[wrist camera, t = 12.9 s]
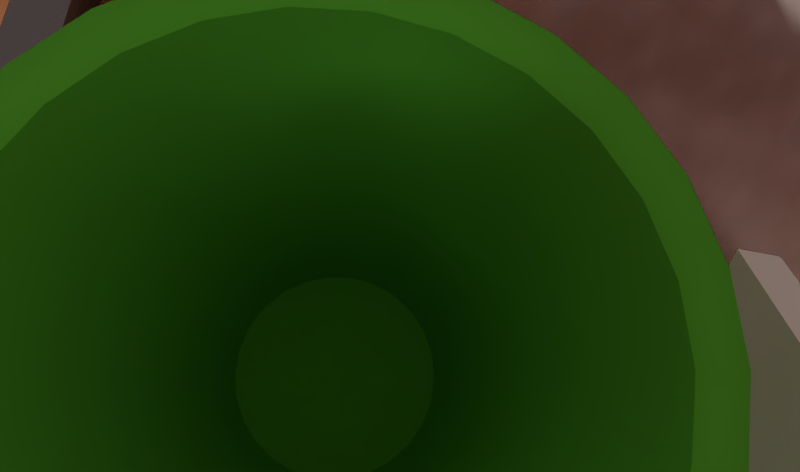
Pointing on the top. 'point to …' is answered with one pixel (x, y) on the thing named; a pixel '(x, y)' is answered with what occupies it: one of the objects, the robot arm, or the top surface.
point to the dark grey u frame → (36, 23)
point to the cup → (350, 251)
